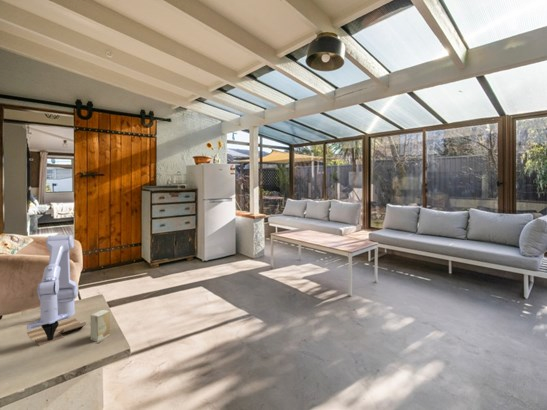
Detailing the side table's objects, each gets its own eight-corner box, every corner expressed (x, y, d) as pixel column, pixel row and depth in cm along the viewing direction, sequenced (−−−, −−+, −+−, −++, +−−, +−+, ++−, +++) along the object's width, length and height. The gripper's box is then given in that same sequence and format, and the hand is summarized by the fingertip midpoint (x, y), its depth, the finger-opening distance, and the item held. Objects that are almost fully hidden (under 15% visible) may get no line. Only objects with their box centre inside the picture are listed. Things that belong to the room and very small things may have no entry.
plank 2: (60, 334, 129) (59, 331, 129) (81, 327, 135) (81, 324, 136) (64, 331, 125) (63, 328, 125) (86, 324, 131) (85, 321, 132)
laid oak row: (26, 334, 128) (26, 332, 128) (74, 320, 143) (74, 318, 142) (32, 342, 122) (31, 340, 122) (81, 326, 136) (81, 324, 136)
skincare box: (97, 344, 122) (97, 316, 121) (90, 342, 123) (89, 315, 123) (110, 336, 128) (110, 310, 127) (103, 335, 130) (102, 309, 129)
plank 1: (34, 342, 122) (34, 339, 122) (58, 334, 129) (58, 332, 129) (39, 347, 118) (38, 344, 118) (63, 339, 125) (63, 336, 125)
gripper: (29, 317, 113) (30, 350, 114) (72, 306, 124) (73, 336, 125) (25, 312, 117) (26, 344, 118) (67, 301, 129) (68, 331, 130)
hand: (50, 339), depth 122 cm, fingers closed, pressing on plank 1
